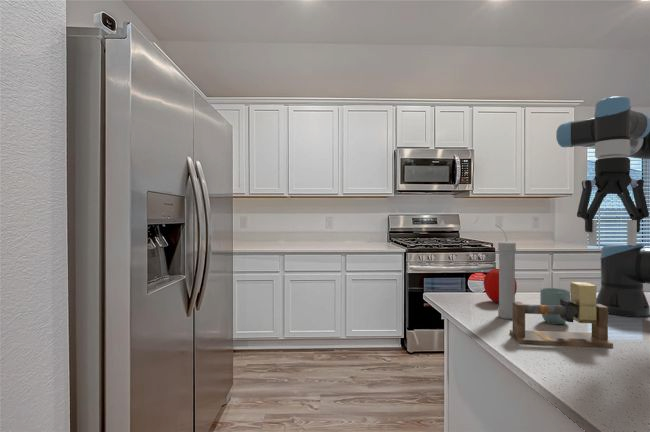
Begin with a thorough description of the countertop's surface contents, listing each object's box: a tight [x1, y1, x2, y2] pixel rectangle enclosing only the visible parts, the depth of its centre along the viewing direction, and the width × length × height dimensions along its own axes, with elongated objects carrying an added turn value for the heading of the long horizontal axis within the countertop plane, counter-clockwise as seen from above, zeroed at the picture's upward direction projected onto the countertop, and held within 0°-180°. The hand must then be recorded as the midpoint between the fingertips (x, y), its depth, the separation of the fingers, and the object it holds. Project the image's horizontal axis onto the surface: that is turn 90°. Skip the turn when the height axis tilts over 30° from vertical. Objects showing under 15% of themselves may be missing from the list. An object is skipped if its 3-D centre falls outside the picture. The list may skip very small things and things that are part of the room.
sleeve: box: [569, 281, 597, 324], centre depth 107 cm, size 4×5×10 cm
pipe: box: [495, 224, 517, 320], centre depth 132 cm, size 6×6×30 cm
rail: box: [509, 301, 614, 348], centre depth 108 cm, size 22×9×10 cm, turn 81°
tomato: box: [483, 268, 518, 304], centre depth 153 cm, size 12×12×13 cm
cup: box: [539, 287, 570, 325], centre depth 125 cm, size 8×8×10 cm
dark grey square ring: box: [560, 299, 574, 323], centre depth 108 cm, size 1×5×5 cm, turn 171°
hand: (612, 245), depth 106 cm, fingers open, 9 cm apart
